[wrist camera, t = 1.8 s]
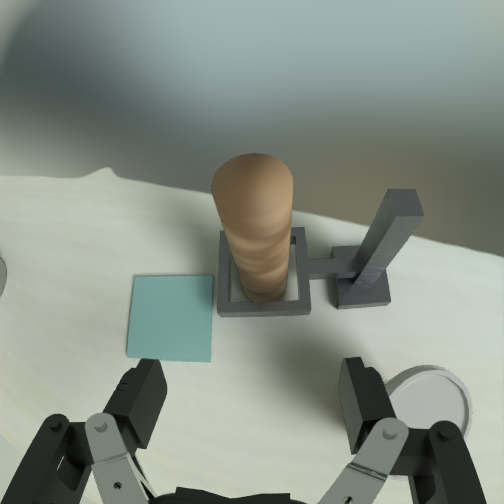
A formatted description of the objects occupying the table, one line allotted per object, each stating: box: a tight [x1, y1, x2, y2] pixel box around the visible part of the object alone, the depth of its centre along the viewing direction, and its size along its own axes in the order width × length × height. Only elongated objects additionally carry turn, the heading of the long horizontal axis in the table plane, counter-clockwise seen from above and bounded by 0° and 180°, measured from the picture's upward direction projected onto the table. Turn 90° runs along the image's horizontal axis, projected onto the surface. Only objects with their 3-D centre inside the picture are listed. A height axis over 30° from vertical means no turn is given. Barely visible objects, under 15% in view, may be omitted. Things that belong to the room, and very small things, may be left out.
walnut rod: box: [211, 153, 293, 302], centre depth 26 cm, size 5×5×18 cm
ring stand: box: [217, 189, 424, 317], centre depth 27 cm, size 18×9×16 cm, turn 91°
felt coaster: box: [127, 275, 213, 362], centre depth 33 cm, size 10×10×1 cm
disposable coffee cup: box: [384, 365, 473, 481], centre depth 21 cm, size 10×10×12 cm
